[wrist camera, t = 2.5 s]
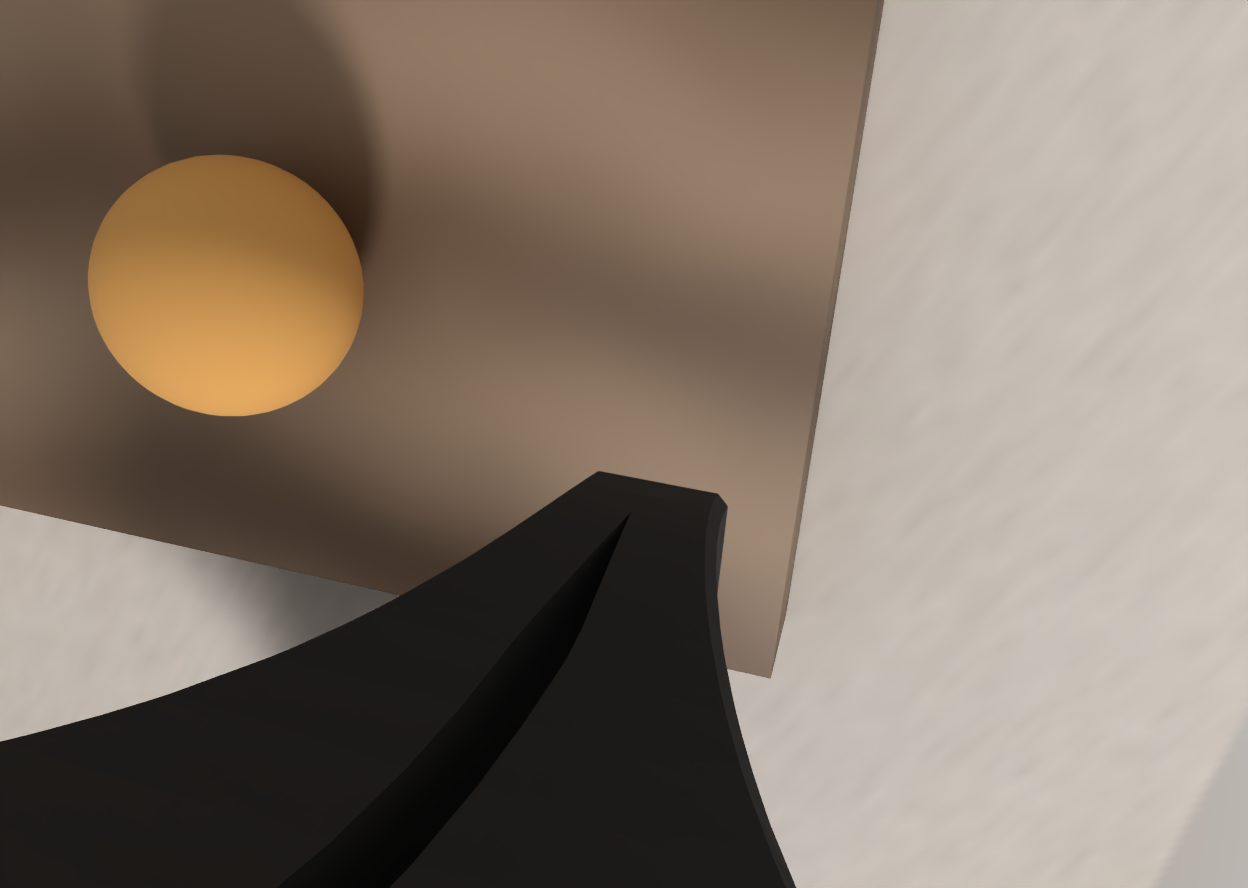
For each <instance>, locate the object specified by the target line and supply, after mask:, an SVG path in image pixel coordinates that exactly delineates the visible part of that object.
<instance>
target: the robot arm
mask: <svg viewBox="0 0 1248 888" xmlns="http://www.w3.org/2000/svg"><path fill="white" fill-rule="evenodd" d="M727 510H728V506H727V504H726V503H725V502H724V501H723V499H722V498H721V497H720V495H719V494H718V493H712V492H707V491H702V490H697V489H691V488H686V487H681V486H676V485H670V484H665V483H660V482H655V481H649V480H644V479H639V478H634V477H628V476H623V475H618V474H613V473H608V472H602V471H597V472H596V473H594V474H593V475H591V476H590V477H588V478H586V479H585V480H583V481H582V482H580V483H579V484H577V485H576V486H574V487H573V488H571V489H570V490H568V491H567V492H565V493H564V494H562V495H561V496H559V497H558V498H557V499H555V500H554V501H552V502H551V503H549V504H548V505H546V506H545V507H543V508H542V509H540V510H539V511H537V512H536V513H534V514H533V515H531V516H530V517H529V518H527V519H526V520H524V521H523V522H521V523H520V524H518V525H517V526H515V527H514V528H512V529H511V530H509V531H508V532H506V533H505V534H503V535H501V536H500V537H498V538H497V539H495V540H494V541H492V542H491V543H489V544H487V545H486V546H484V547H483V548H481V549H480V550H478V551H476V552H475V553H473V554H472V555H470V556H469V557H467V558H466V559H464V560H462V561H460V562H459V563H457V564H455V565H453V566H452V567H450V568H448V569H446V570H445V571H443V572H441V573H439V574H438V575H436V576H434V577H432V578H431V579H429V580H427V581H425V582H424V583H422V584H420V585H418V586H417V587H415V588H413V589H411V590H410V591H408V592H406V593H404V594H403V595H401V596H399V597H397V598H396V599H394V600H392V601H390V602H389V603H387V604H385V605H383V606H381V607H379V608H377V609H375V610H373V611H371V612H369V613H367V614H365V615H363V616H361V617H359V618H357V619H355V620H353V621H351V622H349V623H347V624H345V625H342V626H340V627H338V628H336V629H334V630H331V631H329V632H327V633H325V634H322V635H320V636H318V637H316V638H314V639H311V640H309V641H307V642H305V643H302V644H300V645H298V646H296V647H293V648H291V649H289V650H286V651H284V652H281V653H279V654H277V655H274V656H272V657H269V658H266V659H264V660H261V661H258V662H256V663H253V664H250V665H247V666H245V667H242V668H239V669H237V670H234V671H231V672H228V673H226V674H223V675H220V676H217V677H215V678H212V679H209V680H207V681H204V682H201V683H198V684H196V685H193V686H190V687H188V688H185V689H182V690H179V691H177V692H174V693H171V694H168V695H165V696H162V697H159V698H156V699H153V700H149V701H146V702H143V703H139V704H136V705H133V706H130V707H126V708H123V709H120V710H116V711H113V712H110V713H107V714H103V715H100V716H96V717H93V718H89V719H85V720H82V721H78V722H74V723H71V724H67V725H63V726H60V727H56V728H52V729H49V730H45V731H41V732H38V733H34V734H30V735H26V736H22V737H18V738H14V739H9V740H5V741H1V742H0V888H796V886H795V884H794V881H793V879H792V877H791V874H790V872H789V869H788V867H787V864H786V862H785V859H784V857H783V855H782V852H781V850H780V847H779V845H778V842H777V840H776V838H775V835H774V833H773V830H772V828H771V825H770V823H769V820H768V817H767V814H766V811H765V808H764V805H763V802H762V799H761V796H760V793H759V790H758V787H757V784H756V781H755V778H754V775H753V772H752V769H751V765H750V762H749V758H748V755H747V751H746V748H745V744H744V741H743V738H742V734H741V730H740V726H739V722H738V718H737V714H736V710H735V706H734V701H733V697H732V692H731V687H730V682H729V677H728V672H727V666H726V661H725V656H724V649H723V642H722V636H721V628H720V617H719V607H718V597H717V594H718V585H719V577H720V569H721V560H722V552H723V543H724V535H725V527H726V518H727Z"/></svg>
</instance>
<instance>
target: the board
mask: <svg viewBox="0 0 1248 888" xmlns="http://www.w3.org/2000/svg"><path fill="white" fill-rule="evenodd" d="M883 4H884V0H0V505H1V506H6V507H10V508H14V509H19V510H23V511H28V512H32V513H37V514H41V515H46V516H50V517H54V518H59V519H63V520H68V521H72V522H77V523H81V524H86V525H90V526H94V527H99V528H103V529H108V530H112V531H117V532H121V533H126V534H130V535H135V536H139V537H143V538H148V539H152V540H157V541H161V542H166V543H170V544H175V545H179V546H183V547H188V548H192V549H197V550H201V551H206V552H210V553H215V554H219V555H224V556H228V557H232V558H237V559H241V560H246V561H250V562H255V563H259V564H264V565H268V566H272V567H277V568H281V569H286V570H290V571H295V572H299V573H304V574H308V575H312V576H317V577H321V578H326V579H330V580H335V581H339V582H344V583H348V584H353V585H357V586H361V587H366V588H370V589H375V590H379V591H384V592H388V593H393V594H397V595H403V594H404V593H406V592H408V591H410V590H411V589H413V588H415V587H417V586H418V585H420V584H422V583H424V582H425V581H427V580H429V579H431V578H432V577H434V576H436V575H438V574H439V573H441V572H443V571H445V570H446V569H448V568H450V567H452V566H453V565H455V564H457V563H459V562H460V561H462V560H464V559H466V558H467V557H469V556H470V555H472V554H473V553H475V552H476V551H478V550H480V549H481V548H483V547H484V546H486V545H487V544H489V543H491V542H492V541H494V540H495V539H497V538H498V537H500V536H501V535H503V534H505V533H506V532H508V531H509V530H511V529H512V528H514V527H515V526H517V525H518V524H520V523H521V522H523V521H524V520H526V519H527V518H529V517H530V516H531V515H533V514H534V513H536V512H537V511H539V510H540V509H542V508H543V507H545V506H546V505H548V504H549V503H551V502H552V501H554V500H555V499H557V498H558V497H559V496H561V495H562V494H564V493H565V492H567V491H568V490H570V489H571V488H573V487H574V486H576V485H577V484H579V483H580V482H582V481H583V480H585V479H586V478H588V477H590V476H591V475H593V474H594V473H596V472H597V471H602V472H608V473H613V474H618V475H623V476H628V477H634V478H639V479H644V480H649V481H655V482H660V483H665V484H670V485H676V486H681V487H686V488H691V489H697V490H702V491H707V492H712V493H718V494H719V495H720V497H721V498H722V499H723V501H724V502H725V503H726V504H727V506H728V510H727V518H726V527H725V535H724V543H723V552H722V560H721V569H720V577H719V585H718V594H717V597H718V607H719V617H720V628H721V636H722V642H723V649H724V656H725V661H726V666H727V669H731V670H735V671H740V672H744V673H748V674H753V675H757V676H762V677H766V678H771V674H772V670H773V666H774V662H775V658H776V653H777V649H778V645H779V641H780V637H781V633H782V628H783V624H784V620H785V616H786V610H787V604H788V598H789V592H790V585H791V579H792V573H793V567H794V560H795V554H796V548H797V542H798V535H799V529H800V523H801V517H802V510H803V504H804V498H805V492H806V485H807V479H808V473H809V467H810V460H811V454H812V448H813V442H814V435H815V429H816V423H817V417H818V410H819V404H820V398H821V392H822V385H823V379H824V373H825V367H826V360H827V354H828V348H829V342H830V335H831V329H832V323H833V317H834V310H835V304H836V298H837V292H838V285H839V279H840V273H841V267H842V260H843V254H844V248H845V242H846V235H847V229H848V223H849V217H850V210H851V204H852V198H853V192H854V185H855V179H856V173H857V167H858V160H859V154H860V148H861V142H862V135H863V129H864V123H865V117H866V110H867V104H868V98H869V92H870V85H871V79H872V73H873V67H874V60H875V54H876V48H877V42H878V35H879V29H880V23H881V17H882V10H883ZM206 155H234V156H241V157H246V158H251V159H256V160H260V161H263V162H266V163H269V164H272V165H274V166H276V167H279V168H281V169H283V170H285V171H287V172H289V173H291V174H293V175H295V176H296V177H298V178H299V179H301V180H302V181H304V182H305V183H307V184H308V185H309V186H310V187H312V188H313V189H314V190H315V191H317V192H318V193H319V194H320V195H321V196H322V197H323V198H324V199H325V200H326V201H327V202H328V203H329V205H330V206H331V207H332V208H333V209H334V211H335V212H336V213H337V214H338V216H339V217H340V219H341V220H342V222H343V223H344V225H345V227H346V228H347V230H348V232H349V234H350V236H351V238H352V240H353V243H354V245H355V248H356V251H357V253H358V256H359V260H360V264H361V268H362V275H363V288H364V297H363V308H362V316H361V320H360V323H359V327H358V330H357V333H356V336H355V338H354V341H353V343H352V345H351V347H350V349H349V351H348V352H347V354H346V356H345V357H344V359H343V360H342V362H341V363H340V365H339V366H338V368H337V369H336V370H335V371H334V372H333V373H332V374H331V375H330V376H329V377H328V378H327V379H326V380H325V381H324V382H323V383H322V384H321V385H320V386H319V387H317V388H316V389H315V390H313V391H312V392H311V393H309V394H307V395H306V396H304V397H303V398H301V399H299V400H297V401H295V402H293V403H291V404H289V405H287V406H284V407H282V408H279V409H276V410H273V411H270V412H265V413H260V414H254V415H248V416H217V415H209V414H204V413H200V412H196V411H192V410H188V409H185V408H182V407H180V406H177V405H175V404H173V403H171V402H169V401H167V400H165V399H163V398H161V397H159V396H157V395H155V394H154V393H152V392H151V391H149V390H148V389H146V388H145V387H143V386H142V385H141V384H140V383H138V382H137V381H136V380H135V379H134V378H133V377H132V376H131V375H129V374H128V373H127V372H126V371H125V369H124V368H123V367H122V366H121V365H120V364H119V363H118V361H117V360H116V359H115V357H114V356H113V355H112V353H111V352H110V350H109V349H108V347H107V345H106V344H105V342H104V340H103V338H102V336H101V334H100V332H99V330H98V328H97V325H96V322H95V320H94V317H93V313H92V309H91V304H90V297H89V290H88V268H89V260H90V254H91V250H92V246H93V242H94V239H95V237H96V235H97V232H98V230H99V228H100V226H101V223H102V221H103V219H104V217H105V216H106V214H107V213H108V211H109V210H110V208H111V207H112V206H113V205H114V203H115V202H116V201H117V199H118V198H119V197H120V196H121V195H122V194H123V193H124V192H125V191H126V190H127V189H128V188H130V187H131V186H132V185H133V184H134V183H136V182H137V181H138V180H140V179H141V178H143V177H144V176H145V175H147V174H149V173H151V172H153V171H155V170H157V169H159V168H161V167H163V166H165V165H167V164H169V163H173V162H176V161H180V160H184V159H188V158H191V157H195V156H206Z"/></svg>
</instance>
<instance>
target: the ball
mask: <svg viewBox="0 0 1248 888" xmlns="http://www.w3.org/2000/svg"><path fill="white" fill-rule="evenodd" d="M88 290H89V297H90V304H91V309H92V313H93V317H94V320H95V322H96V325H97V328H98V330H99V332H100V334H101V336H102V338H103V340H104V342H105V344H106V345H107V347H108V349H109V350H110V352H111V353H112V355H113V356H114V357H115V359H116V360H117V361H118V363H119V364H120V365H121V366H122V367H123V368H124V369H125V371H126V372H127V373H128V374H129V375H131V376H132V377H133V378H134V379H135V380H136V381H137V382H138V383H140V384H141V385H142V386H143V387H145V388H146V389H148V390H149V391H151V392H152V393H154V394H155V395H157V396H159V397H161V398H163V399H165V400H167V401H169V402H171V403H173V404H175V405H177V406H180V407H182V408H185V409H188V410H192V411H196V412H200V413H204V414H209V415H217V416H248V415H254V414H260V413H265V412H270V411H273V410H276V409H279V408H282V407H284V406H287V405H289V404H291V403H293V402H295V401H297V400H299V399H301V398H303V397H304V396H306V395H307V394H309V393H311V392H312V391H313V390H315V389H316V388H317V387H319V386H320V385H321V384H322V383H323V382H324V381H325V380H326V379H327V378H328V377H329V376H330V375H331V374H332V373H333V372H334V371H335V370H336V369H337V368H338V366H339V365H340V363H341V362H342V360H343V359H344V357H345V356H346V354H347V352H348V351H349V349H350V347H351V345H352V343H353V341H354V338H355V336H356V333H357V330H358V327H359V323H360V320H361V316H362V308H363V297H364V288H363V275H362V268H361V264H360V260H359V256H358V253H357V251H356V248H355V245H354V243H353V240H352V238H351V236H350V234H349V232H348V230H347V228H346V227H345V225H344V223H343V222H342V220H341V219H340V217H339V216H338V214H337V213H336V212H335V211H334V209H333V208H332V207H331V206H330V205H329V203H328V202H327V201H326V200H325V199H324V198H323V197H322V196H321V195H320V194H319V193H318V192H317V191H315V190H314V189H313V188H312V187H310V186H309V185H308V184H307V183H305V182H304V181H302V180H301V179H299V178H298V177H296V176H295V175H293V174H291V173H289V172H287V171H285V170H283V169H281V168H279V167H276V166H274V165H272V164H269V163H266V162H263V161H260V160H256V159H251V158H246V157H241V156H234V155H206V156H195V157H191V158H188V159H184V160H180V161H176V162H173V163H169V164H167V165H165V166H163V167H161V168H159V169H157V170H155V171H153V172H151V173H149V174H147V175H145V176H144V177H143V178H141V179H140V180H138V181H137V182H136V183H134V184H133V185H132V186H131V187H130V188H128V189H127V190H126V191H125V192H124V193H123V194H122V195H121V196H120V197H119V198H118V199H117V201H116V202H115V203H114V205H113V206H112V207H111V208H110V210H109V211H108V213H107V214H106V216H105V217H104V219H103V221H102V223H101V226H100V228H99V230H98V232H97V235H96V237H95V239H94V242H93V246H92V250H91V254H90V260H89V268H88Z"/></svg>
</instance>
